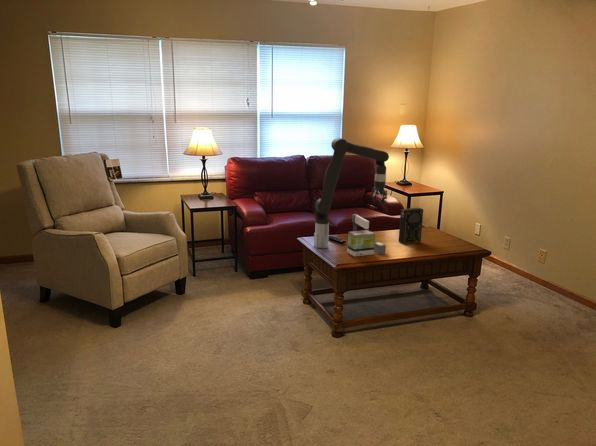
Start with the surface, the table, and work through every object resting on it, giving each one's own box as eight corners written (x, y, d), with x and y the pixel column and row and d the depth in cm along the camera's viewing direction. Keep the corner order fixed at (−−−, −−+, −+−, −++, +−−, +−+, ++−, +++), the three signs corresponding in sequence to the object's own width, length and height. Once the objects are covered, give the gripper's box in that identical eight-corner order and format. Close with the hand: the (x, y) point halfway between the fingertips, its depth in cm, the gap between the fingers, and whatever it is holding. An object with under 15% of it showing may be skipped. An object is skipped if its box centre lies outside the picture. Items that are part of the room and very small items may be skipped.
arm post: (351, 250, 313) (352, 223, 309) (348, 247, 319) (349, 221, 314) (359, 249, 315) (361, 223, 310) (356, 247, 321) (357, 221, 316)
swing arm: (364, 229, 294) (364, 221, 293) (351, 221, 314) (351, 214, 312) (370, 228, 295) (370, 221, 294) (356, 221, 315) (357, 213, 313)
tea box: (354, 257, 299) (355, 235, 296) (346, 252, 308) (347, 231, 305) (374, 254, 305) (375, 233, 302) (366, 250, 314) (367, 229, 311)
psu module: (378, 254, 305) (378, 245, 304) (373, 251, 313) (373, 242, 311) (385, 254, 307) (385, 245, 305) (379, 250, 314) (380, 241, 312)
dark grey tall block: (403, 245, 327) (406, 210, 320) (396, 241, 334) (399, 208, 328) (422, 243, 333) (424, 209, 326) (414, 239, 340) (417, 206, 334)
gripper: (369, 179, 322) (367, 201, 326) (382, 182, 310) (380, 205, 314) (378, 178, 326) (376, 201, 330) (391, 181, 314) (389, 205, 318)
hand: (378, 203), depth 322 cm, fingers open, 8 cm apart
